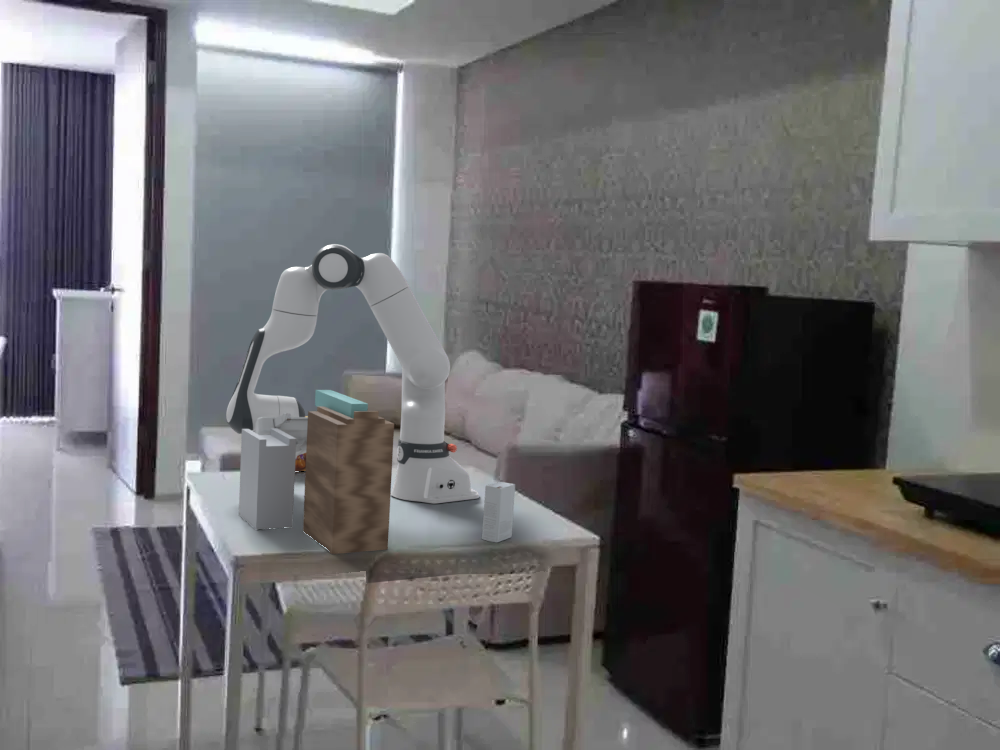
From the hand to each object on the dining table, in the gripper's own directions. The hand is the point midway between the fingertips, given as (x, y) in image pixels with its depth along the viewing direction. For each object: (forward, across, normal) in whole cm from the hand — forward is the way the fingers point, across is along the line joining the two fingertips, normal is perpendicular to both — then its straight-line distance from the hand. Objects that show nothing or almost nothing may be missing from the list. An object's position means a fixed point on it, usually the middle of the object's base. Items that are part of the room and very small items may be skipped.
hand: (308, 416), depth 235 cm
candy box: (-50, +11, -3) cm, 52 cm away
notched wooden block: (+11, +1, +32) cm, 34 cm away
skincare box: (+18, +33, +36) cm, 52 cm away
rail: (+19, 0, +7) cm, 20 cm away
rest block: (-6, -10, +22) cm, 25 cm away
